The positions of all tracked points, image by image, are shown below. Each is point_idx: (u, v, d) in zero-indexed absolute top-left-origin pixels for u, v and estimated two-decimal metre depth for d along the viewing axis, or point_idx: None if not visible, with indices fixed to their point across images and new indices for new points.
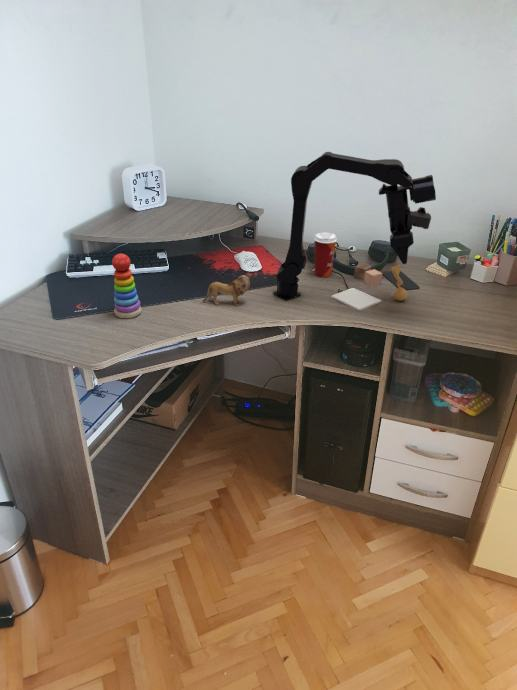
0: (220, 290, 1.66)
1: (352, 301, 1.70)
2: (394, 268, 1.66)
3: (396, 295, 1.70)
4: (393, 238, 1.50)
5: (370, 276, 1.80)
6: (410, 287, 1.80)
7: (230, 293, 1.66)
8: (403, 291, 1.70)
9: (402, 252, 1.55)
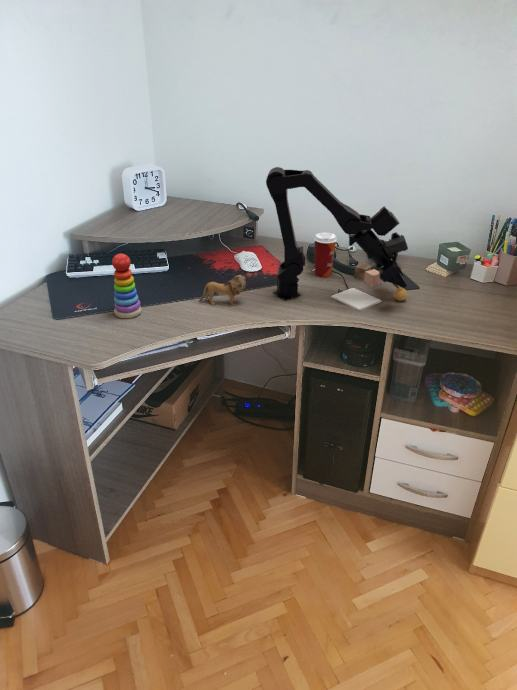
0: (216, 290, 1.67)
1: (352, 301, 1.70)
2: None
3: (396, 295, 1.70)
4: (381, 275, 1.59)
5: (370, 276, 1.80)
6: (410, 287, 1.80)
7: (226, 293, 1.66)
8: (403, 291, 1.70)
9: (397, 279, 1.63)
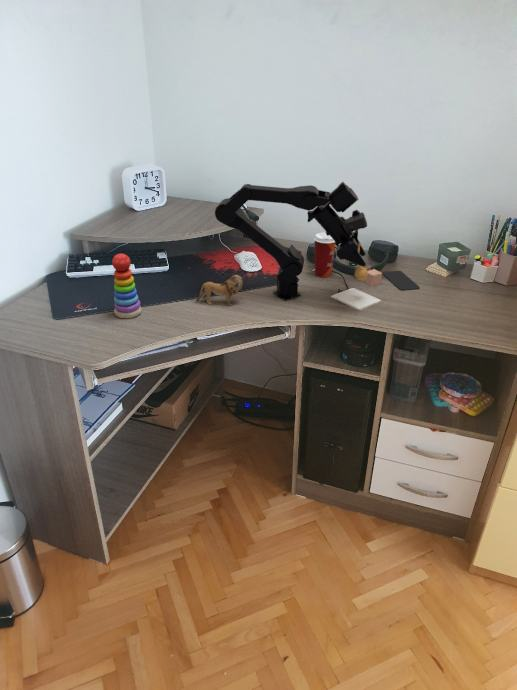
0: (213, 290, 1.67)
1: (352, 301, 1.70)
2: None
3: (357, 274, 1.67)
4: (338, 252, 1.56)
5: (370, 276, 1.80)
6: (410, 287, 1.80)
7: (223, 293, 1.66)
8: (364, 270, 1.66)
9: (355, 257, 1.60)
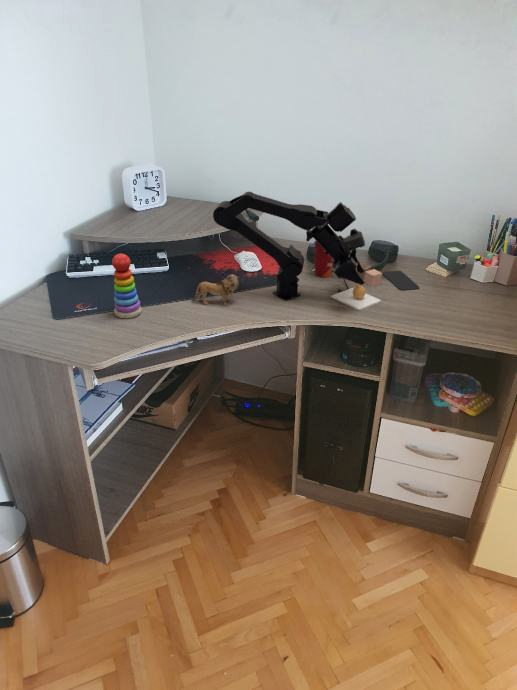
0: (209, 290, 1.67)
1: (352, 301, 1.70)
2: None
3: (354, 293, 1.70)
4: (336, 271, 1.59)
5: (370, 276, 1.80)
6: (410, 287, 1.80)
7: (219, 292, 1.67)
8: (361, 289, 1.69)
9: (354, 276, 1.62)
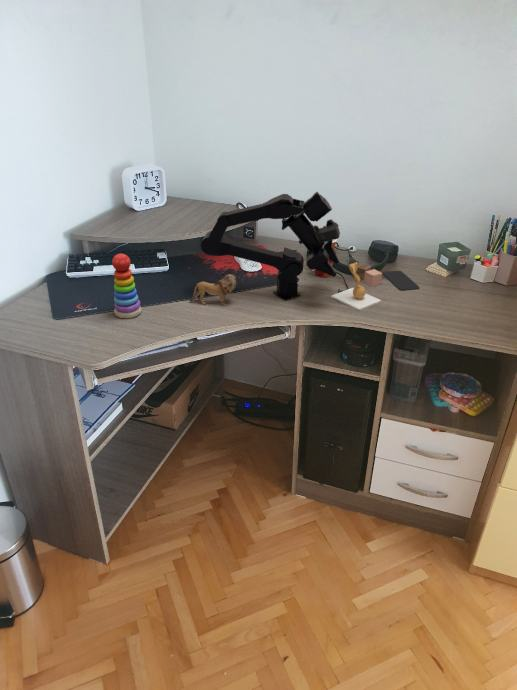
0: (207, 290, 1.67)
1: (352, 301, 1.70)
2: (351, 265, 1.66)
3: (354, 293, 1.70)
4: (308, 262, 1.59)
5: (370, 276, 1.80)
6: (410, 287, 1.80)
7: (217, 292, 1.67)
8: (361, 289, 1.69)
9: (326, 268, 1.63)
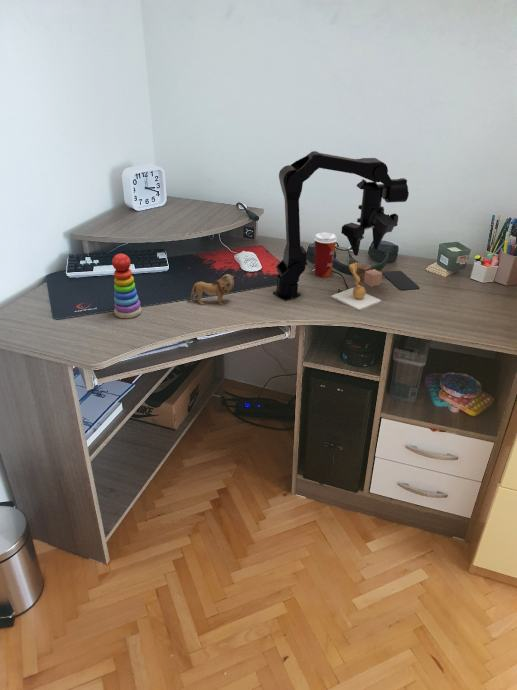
0: (204, 290, 1.67)
1: (352, 301, 1.70)
2: (351, 265, 1.66)
3: (354, 293, 1.70)
4: (343, 226, 1.64)
5: (370, 276, 1.80)
6: (410, 287, 1.80)
7: (215, 292, 1.67)
8: (361, 289, 1.69)
9: (354, 243, 1.67)
